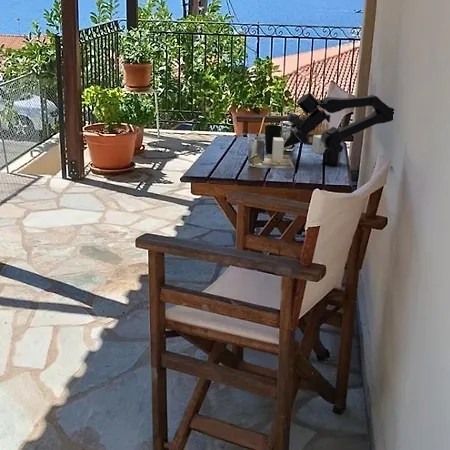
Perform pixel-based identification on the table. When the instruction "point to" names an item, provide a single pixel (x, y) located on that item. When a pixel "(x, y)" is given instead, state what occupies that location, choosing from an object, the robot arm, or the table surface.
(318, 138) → the skincare box
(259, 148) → the frame
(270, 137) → the cup
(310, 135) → the ammunition clip
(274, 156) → the gauge slider
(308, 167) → the table surface
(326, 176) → the table surface
